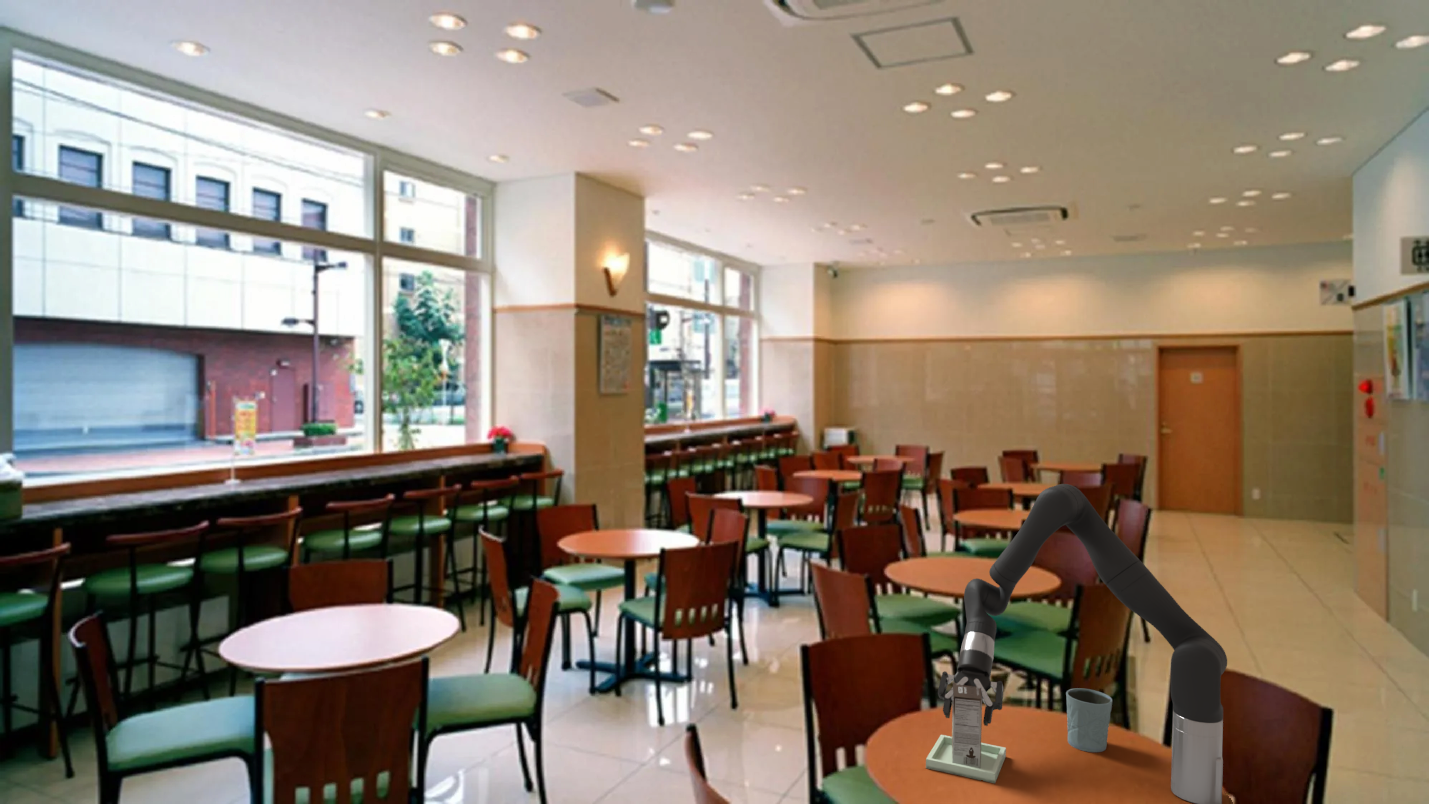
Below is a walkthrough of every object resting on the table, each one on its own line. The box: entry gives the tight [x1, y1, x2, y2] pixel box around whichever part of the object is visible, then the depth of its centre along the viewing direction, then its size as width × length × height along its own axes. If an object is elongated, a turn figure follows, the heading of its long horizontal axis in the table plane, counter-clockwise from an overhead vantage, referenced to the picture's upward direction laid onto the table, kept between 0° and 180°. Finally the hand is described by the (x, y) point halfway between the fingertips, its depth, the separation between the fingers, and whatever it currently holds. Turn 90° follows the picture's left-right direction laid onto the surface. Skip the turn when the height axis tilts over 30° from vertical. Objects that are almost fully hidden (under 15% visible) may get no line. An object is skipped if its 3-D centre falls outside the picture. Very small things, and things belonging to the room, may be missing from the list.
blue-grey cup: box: [1065, 687, 1113, 753], centre depth 203 cm, size 10×10×12 cm
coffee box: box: [951, 682, 983, 769], centre depth 194 cm, size 9×6×16 cm
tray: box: [925, 734, 1007, 784], centre depth 193 cm, size 15×15×2 cm
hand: (966, 720), depth 192 cm, fingers open, 8 cm apart
